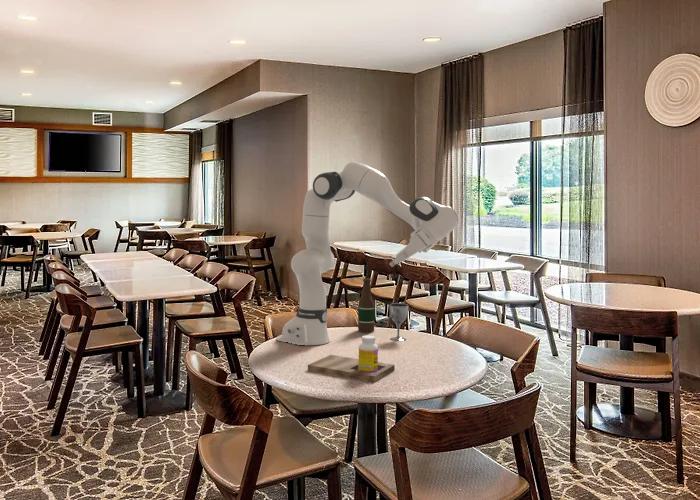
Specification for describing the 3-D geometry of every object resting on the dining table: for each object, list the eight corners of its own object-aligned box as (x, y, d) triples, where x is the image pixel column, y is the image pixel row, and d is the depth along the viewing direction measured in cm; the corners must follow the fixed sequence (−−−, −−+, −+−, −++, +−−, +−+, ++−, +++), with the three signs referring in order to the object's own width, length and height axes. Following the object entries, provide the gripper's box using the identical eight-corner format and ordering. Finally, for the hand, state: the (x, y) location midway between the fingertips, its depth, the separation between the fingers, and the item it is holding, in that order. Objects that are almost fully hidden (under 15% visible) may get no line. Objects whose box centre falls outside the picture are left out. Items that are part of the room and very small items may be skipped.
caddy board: (307, 370, 212) (307, 364, 212) (330, 359, 226) (330, 354, 226) (374, 382, 200) (374, 376, 200) (394, 370, 214) (394, 364, 214)
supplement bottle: (375, 376, 206) (376, 339, 205) (356, 375, 207) (357, 338, 206) (378, 371, 212) (379, 335, 211) (360, 370, 214) (360, 334, 213)
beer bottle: (376, 329, 278) (377, 278, 276) (371, 333, 271) (372, 280, 269) (360, 328, 281) (361, 277, 279) (355, 331, 274) (356, 279, 271)
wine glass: (410, 338, 262) (411, 304, 261) (402, 342, 255) (402, 307, 254) (394, 336, 266) (395, 302, 265) (385, 339, 260) (386, 305, 258)
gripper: (411, 237, 232) (383, 260, 230) (421, 229, 211) (391, 253, 209) (421, 250, 231) (393, 273, 229) (433, 243, 211) (402, 267, 209)
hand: (392, 263), depth 219 cm, fingers open, 8 cm apart
